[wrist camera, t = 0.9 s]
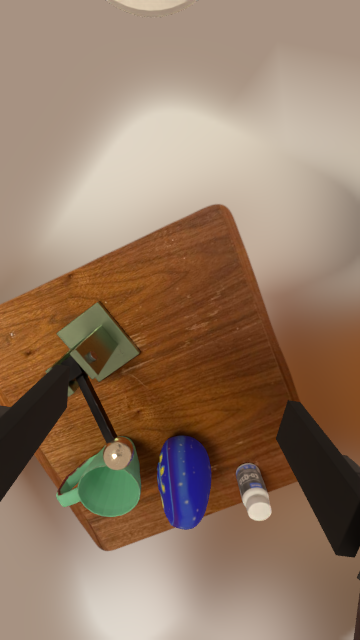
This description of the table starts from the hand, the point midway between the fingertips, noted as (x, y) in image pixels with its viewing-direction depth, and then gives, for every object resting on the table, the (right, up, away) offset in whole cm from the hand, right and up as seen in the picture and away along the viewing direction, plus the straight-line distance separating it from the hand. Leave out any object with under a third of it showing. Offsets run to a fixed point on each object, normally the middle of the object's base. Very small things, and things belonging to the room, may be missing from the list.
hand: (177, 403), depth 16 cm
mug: (-13, -20, +36) cm, 43 cm away
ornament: (+1, -20, +36) cm, 41 cm away
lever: (-10, -7, +19) cm, 23 cm away
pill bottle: (+14, -25, +37) cm, 47 cm away
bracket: (-14, +1, +30) cm, 33 cm away
